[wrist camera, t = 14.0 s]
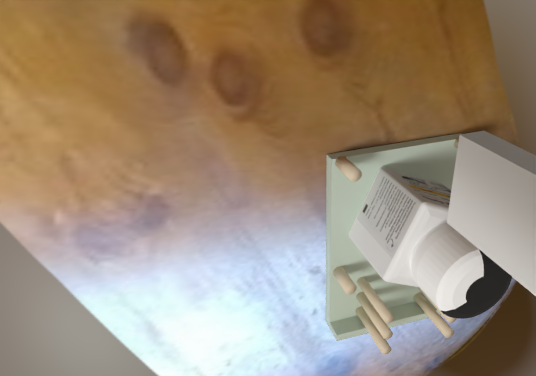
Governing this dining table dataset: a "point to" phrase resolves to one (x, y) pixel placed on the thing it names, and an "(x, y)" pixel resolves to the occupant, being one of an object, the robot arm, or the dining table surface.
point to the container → (425, 245)
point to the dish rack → (350, 257)
